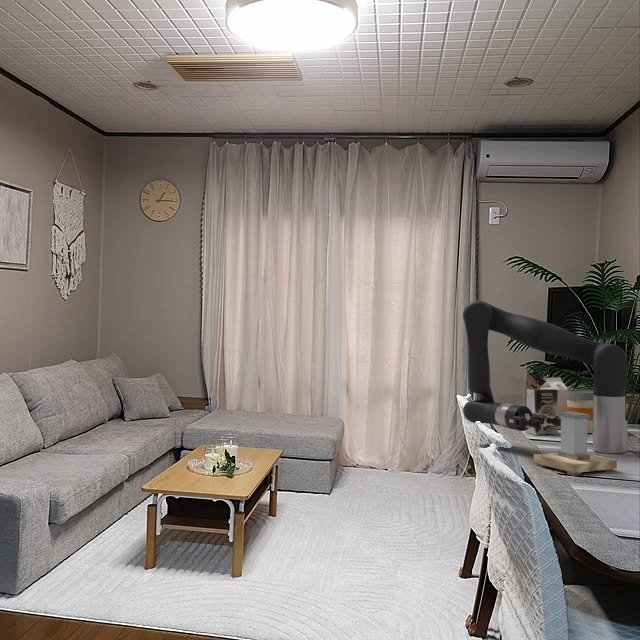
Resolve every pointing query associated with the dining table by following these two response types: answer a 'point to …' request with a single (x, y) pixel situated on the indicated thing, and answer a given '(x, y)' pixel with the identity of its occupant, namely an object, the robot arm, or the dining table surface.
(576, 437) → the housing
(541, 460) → the birch stand
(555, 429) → the coffee box
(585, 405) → the reusable coffee cup
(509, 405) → the robot arm
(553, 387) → the milk carton
